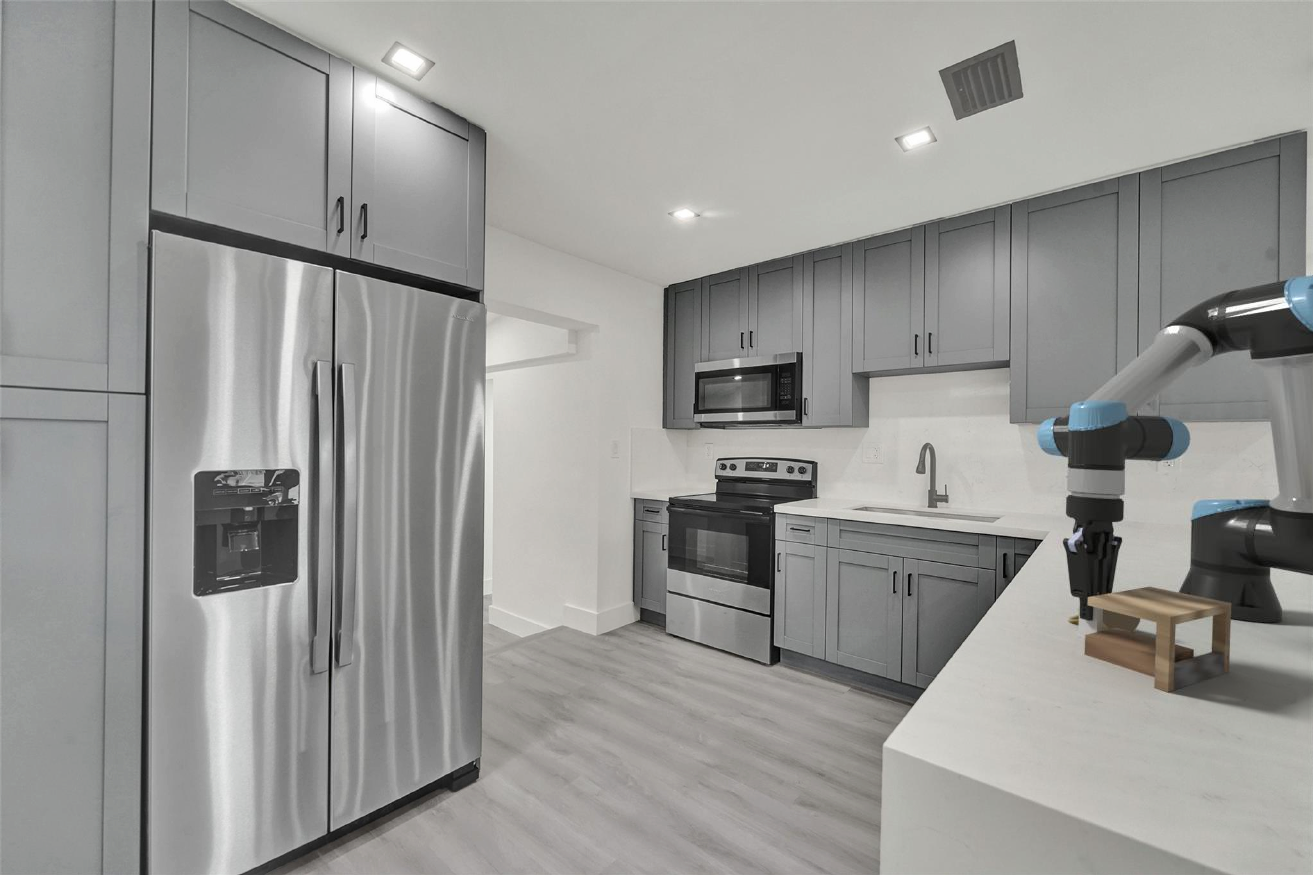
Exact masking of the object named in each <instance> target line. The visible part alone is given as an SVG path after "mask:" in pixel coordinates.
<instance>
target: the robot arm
mask: <svg viewBox="0 0 1313 875" xmlns="http://www.w3.org/2000/svg"><path fill="white" fill-rule="evenodd" d="M1242 351H1249V353H1250V361H1251V362H1253V363H1255V364H1257V365H1258V366H1261V367H1262V368H1263V370H1264V371H1263V372H1264V379H1265V388H1266V395H1267V402H1268V413H1269V418H1270V420H1269V421H1270V427H1271V436H1272V443H1273V451H1274V458H1275V459H1274V460H1275V468H1276V477H1277V484H1278V485H1277V486H1278V493H1279V494H1278V495H1277V496H1276V497H1274V498H1273V499H1265V498H1263V499H1260V498H1259V499H1255V498H1254V499H1248V498H1247V499H1245V498H1244V499H1243V498H1242V499H1201V500H1197V501H1196V502H1195V503H1194V504H1193V506H1192V512H1191V518H1190V522H1191V524H1190V525H1191V527H1190V567H1189V570H1188V572H1187V574H1186V576H1185V578H1184V579H1183V582H1182V584H1181V586H1180V588H1179V590H1178V592H1179V593H1184V594H1188V595H1193V596H1198V597H1203V598H1208V599H1213V600H1217V601H1222V602H1227V603H1231V619H1234V620H1241V621H1246V622H1247V621H1248V622H1249V621H1250V622H1255V623H1256V622H1259V623H1278V622H1281V621H1282V620H1283V607H1282V605H1281V602H1280V600H1279V597H1278V595H1277V593H1276V590H1275V588H1274V586H1273V583H1272V581H1271V569H1275V570H1276V569H1277V570H1282V571H1288V572H1292V573H1297V574H1304V575H1309V576H1313V275H1306V276H1296V277H1293V278H1290V279H1285V280H1280V281H1276V282H1271V283H1266V284H1261V285H1256V286H1250V287H1247V288H1246V287H1245V288H1242V289H1235V290H1232V291H1231V290H1230V291H1225V292H1223V293H1221V294H1217V295H1215V296H1212V297H1210V298H1208V299H1206V300H1203V301H1202V302H1200V303H1198V304H1196V305H1195V306H1193V307H1191V308H1190V309H1188V310H1186V311H1185V312H1183V313H1182V314H1180V315H1179V316H1178V317H1176V318H1174V319H1173V320H1172V321H1171V322H1169V323H1168V324H1167V325H1165V327H1163V328H1162V329H1161V330H1160V331H1159V332H1158V333H1157V334H1156V335H1155V336H1154V341H1153V343H1152V345H1150V346H1148V348H1147V349H1146V350H1144V351H1142V352H1141V354H1140V355H1138V356H1137V357H1136V358H1134V359H1133V360H1132V361H1131V362H1130V363H1129V364H1128V365H1126V366H1125V367H1123V368H1122V369H1121V370H1120V371H1119V372H1118V373H1117V374H1115V375H1114V376H1113V377H1112V378H1111V379H1110V380H1108V381H1107V382H1106V383H1105V384H1104V385H1103V386H1102V387H1100V388H1099V389H1097V390H1096V391H1095V392H1094V393H1093V394H1092V395H1090V396H1089V397H1087V399H1086V400H1084V401H1077V402H1075V403H1073V404H1072V405H1071V406H1070V408H1069V409H1070V410H1069V414H1068V415H1066V416H1063V417H1062V416H1056V417H1052V418H1048V419H1046V420H1044V421H1043V422H1042V423H1041V424H1040V426H1039V427H1038V429H1037V433H1036V438H1037V439H1036V441H1037V443H1038V445H1039V447H1040V449H1041V450H1042V451H1043V452H1044V453H1045V454H1047V455H1050V456H1057V457H1063V458H1067V473H1066V474H1065V478H1066V480H1067V481H1066V484H1067V485H1066V491H1068V492H1069V493H1071V494H1068V495H1067V496H1066V497H1065V498H1066V502H1065V515H1066V516H1067V517H1068V518H1070V519H1074V524H1073V528H1072V533H1073V535H1072V537H1071V538H1067V537H1064V538H1063V540H1062V544H1063V547H1064V550H1065V554H1066V562H1067V570H1068V583H1069V590H1070V591H1069V592H1070V594H1071V596H1072V597H1075V598H1078V599H1079V602H1078V604H1079V605H1078V607H1079V613H1078V615H1079V624H1078V632H1077V633H1078V634H1077V635H1078V636H1077V637H1078V638H1083V639H1084V640H1085V635H1087V634H1091V633H1096V632H1100V631H1103V630H1102V619H1103V609H1101V608H1097V607H1093V606H1089V605H1088V597H1092V596H1098V595H1104V594H1110V593H1113V587H1114V582H1115V575H1116V569H1117V564H1118V563H1117V562H1118V557H1119V552H1120V548H1121V546H1122V543H1123V537H1121V536H1118V535H1117V536H1116V535H1114V525H1113V523H1119V522H1122V521H1123V520H1124V517H1125V516H1124V515H1125V509H1124V508H1125V501H1124V500H1123V498H1121V497H1120V496H1123V495H1125V493H1126V492H1125V491H1126V488H1125V487H1126V461H1127V460H1129V461H1150V462H1157V463H1158V462H1159V463H1160V462H1162V461H1172V460H1175V459H1177V458H1179V457H1181V456H1182V455H1185V453H1186V451H1187V450H1188V449H1189V446H1190V444H1191V433H1190V431H1189V428H1188V427H1187V426H1186V424H1184V423H1183V421H1181V420H1179V419H1177V418H1174V417H1169V416H1163V415H1139V414H1138V413H1139V412H1140V411H1141V410H1143V408H1145V407H1146V406H1148V405H1149V403H1151V402H1152V401H1153V400H1154V399H1156V398H1157V397H1158V396H1159V395H1161V394H1162V393H1163V392H1164V391H1165V390H1166V389H1167V388H1168V387H1169V386H1170V385H1172V384H1173V383H1175V381H1177V380H1178V379H1180V377H1181V376H1183V375H1184V374H1185V373H1186V372H1187V371H1188V370H1190V368H1194V367H1199V366H1202V365H1204V364H1205V363H1207V362H1208V361H1209V360H1211V359H1212V358H1214V357H1216V356H1219V355H1223V354H1227V353H1231V352H1242ZM1137 414H1138V415H1137Z"/></svg>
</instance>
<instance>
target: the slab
mask: <svg viewBox="0 0 1313 875" xmlns="http://www.w3.org/2000/svg"><path fill="white" fill-rule="evenodd" d="M1155 653H1156V638H1153V637H1150V636H1146V635H1144V634H1139V633H1136V632H1134V631H1133V632H1129V631H1125V630H1122V629H1118V628H1114V629H1110V630H1105V631H1103V630H1102V631H1100V632H1096V633H1091V634H1087V635H1085V639H1084V656H1087V657H1090V658H1094V659H1097V660H1100V661H1103V662H1105V661H1106V663H1109V664H1113V665H1115V666H1117V667H1118V666H1119V667H1121V668H1124V669H1127V670H1131V671H1134V672H1138V673H1140V674H1142V675H1143V674H1144V675H1146V676H1149V677H1152V678H1155ZM1194 653H1195V649H1194V648H1190V647H1185V646H1182V645H1179V644H1176V643H1175V659H1174V663H1176V662H1179V661H1183V660H1186V659H1189V658H1193V657H1195V656H1194Z"/></svg>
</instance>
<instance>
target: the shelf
mask: <svg viewBox="0 0 1313 875" xmlns="http://www.w3.org/2000/svg"><path fill="white" fill-rule="evenodd" d="M1088 605H1089V606H1093V607H1097V608H1101V609H1105V610H1109V611H1113V612H1117V613H1121V614H1125V615H1129V616H1133V617H1137V618H1140V620H1141V619H1142V620H1146V621H1150V622H1153V623H1156V624H1155V625H1156V627H1155V628H1156V629H1155V630H1156V632H1155V639H1156V653H1155V677H1154V687H1153V688H1154V689H1157V690H1160V691H1163V692H1166V693H1170V692H1172V691H1173V692H1174V691H1176V690H1179V689H1181V688H1184V687H1189V686H1191V685H1194V684H1197V683H1199V682H1202V681H1206V680H1208V679H1211V678H1214V677H1217V676H1220V675H1224V674H1226V673H1229V672H1230V657H1231V656H1230V653H1231V624H1232V623H1231V622H1232V620H1231V619H1232V618H1231V603H1227V602H1222V601H1217V600H1213V599H1208V598H1203V597H1198V596H1193V595H1188V594H1184V593H1179V591H1173V590H1168V589H1164V588H1160V587H1153V586H1146V587H1139V588H1133V589H1129V590H1128V589H1127V590H1122V591H1117V592H1112V593H1110V594H1104V595H1098V596H1092V597H1088ZM1209 617H1212V632H1211V633H1212V634H1211V635H1212V636H1211V652H1207V653H1204V654H1199V655H1197V656H1194V657H1193V658H1189V659H1186V660H1183V661H1179V662H1176V663H1174V659H1175V644H1176V626H1177V625H1179V624H1184V623H1189V622H1193V621H1196V620H1200V619H1204V618H1209Z"/></svg>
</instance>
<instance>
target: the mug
mask: <svg viewBox="0 0 1313 875" xmlns="http://www.w3.org/2000/svg"><path fill="white" fill-rule="evenodd" d="M1077 612H1078V614H1076V615H1074V616H1071V617H1068V619H1067V622H1069V623H1070V624H1072V625H1079V606H1078V608H1077ZM1140 622H1141V618H1137V617H1133V616H1129V615H1125V614H1121V613H1117V612H1113V611H1109V610H1105V609H1103V619H1102V631H1105V630H1110V629H1114V628H1118V629H1122V630H1125V631H1129V632H1133V633H1134V631H1135V630H1136V629H1137V627H1138V626H1139V624H1140Z"/></svg>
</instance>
